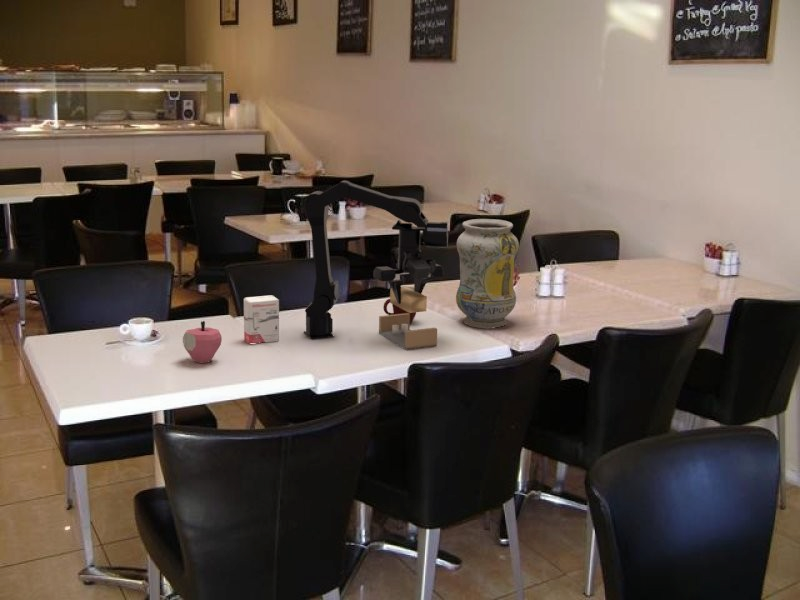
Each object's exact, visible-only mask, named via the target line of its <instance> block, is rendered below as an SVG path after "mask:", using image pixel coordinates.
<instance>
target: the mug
mask: <svg viewBox="0 0 800 600" xmlns="http://www.w3.org/2000/svg"><path fill="white" fill-rule="evenodd" d="M402 287H403V286H401V288H402ZM406 287H407V288H410V289H412V290H414V287H413V286H406ZM389 304H391V306H392V311H393V312H389V311H388V305H389ZM383 311H384V313H385V314H386V315H395V314H404V313H409V312H407V311H405V310H403V309H401V308H399V307H398V306H396V305H394V304H392V303H390V298H388V299H386V300H385V302H384V303H383ZM409 314H410V324H412V322H413V321H414V320H415V317H416V316H417V312H414V313H409Z"/></svg>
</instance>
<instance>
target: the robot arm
mask: <svg viewBox="0 0 800 600" xmlns="http://www.w3.org/2000/svg"><path fill="white" fill-rule="evenodd" d="M342 198H347V199H350V200H353V201H356V202H360V203H362V204H365V205H368V206H371V207H374V208H377V209H381V210H384V211H386V212H387V213H389V214H390V215H392V216H394V217H395V218H398V220H397V222H396V223H395V224H393V225H392V227H391V229H392V230H397V231H398V248H396V253H397V254H398V259H397V261H398V262H397V263H395V266H396V268H391V267H389V266H387V265H386V266H375V268H374V269H373V272H372V274H373V276H372V278H374V279H376V280H378V281H380V282H388V284H389V287H390V288H392V290H393V293H394V295H395V298H396V300H397V303H398V304H400V303H401V287H402V284H403V282H404V281H403V280H401V276H402V277H404V276H410V277H411V278H412V279H413V285H414V291H416V292H418V293H420V294H423V290H424V288H425V287H426V286H427V285H426V284H427V283H429V281H432V280H433V277H434V278H437V277H438V278H439V277H440V278H441V277H444V268H443V266H442V265H441V264H438V263H437V262H436V259H435V258H427V259H424V256H423V251H422V250H421V241H422V244H424V245H425V247H426V248H442V249H445V248H446V249H447V248H448V247H449V246H448V245H449V232H448V231H449V230H448V226H449V225H448V221H441V222H437V221H436V222H433V221H429V219H428V217H426V216H425V214H424V213H423V211H422V210H423V208H422V204H421V202H420V201H419V200H418V199H416V198H413V197H405V196H394V195H388V194H386V193H382V192H380V191H377V190H374V189H370V188H368V187H364V186H361V185H359V184H355V183H353V182H350V181H349V180H345V179H344V180H342V181H340V182H338V183H337V184H336V185H334V186H332V187H329V188H327V189H325V190H324V191H322V190H316V191H313V192H312V193H310V194H308V195H306V197H305V199H304V201H303V208H304V212H305V215H306V218H307V220H308V223H309V226H310V228H311V239H312V252H313V259H314V260H313V261H314V262H313V263H314V270H315V283H314V289H313V297H312V298H313V299H312V301H311V302H310V303H309V304H308V306H307V307H306V308H305V310H304V312H305V331H303V334H304V335H305V336H306V337H308V338H309V339H311V340H315V339H325V338H333V337H334V334H333V332H334V331H333V329H334V327H333V325H334V324H333V318H332V313H330V312H329V311H331V309H332V308H333V307H334V306H335V304H336V303H337V302H338V298H339V296H340V295H341V292H340V290H339V284H340V283H339V280H335V281H334V279H333V275H332V273H331V272H332V271H331V262H330V261H331V260H330V259H331V258H330V251H329V250H330V249H329V240H328V238H329V236H328V228H327V223H328V217H329V210H330V209H329V207H330V205H331V204H333V203H335V202H336V201H339V200H340V199H342ZM402 221H403V222H402ZM414 225H415V226H414ZM421 232H422V240H421ZM431 276H432V277H431Z"/></svg>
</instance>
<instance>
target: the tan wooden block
mask: <svg viewBox="0 0 800 600" xmlns="http://www.w3.org/2000/svg"><path fill="white" fill-rule="evenodd" d="M401 287H402V288H401V303H400V304H398V303H397V300H396V298H395V295H394V293H393V290H392V288H391V287H390V289H389V290H390V292H389V297H390V298H389V299H390V303H389V304H391V305H392V304H394V305H396V306H398V307H399V308H401V309H403V310H405V311H407V312H409V313H414V312H416V313H422V312H427V301H428V298H427V297H428V296H427V295H424V294H423V293H421V294H420V293H418V292H416V291H414V290H412V289H410V288H407V287H408V286H401Z"/></svg>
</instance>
